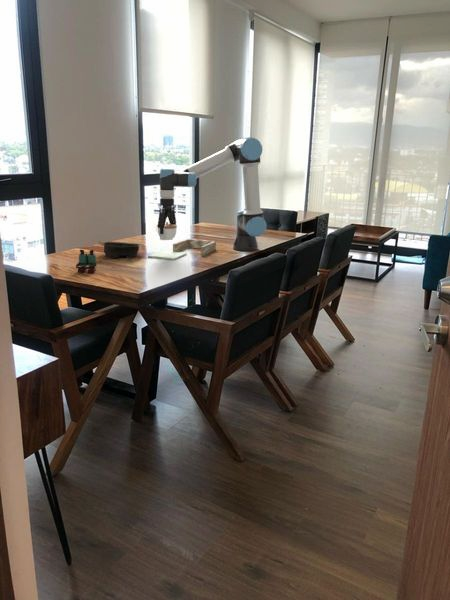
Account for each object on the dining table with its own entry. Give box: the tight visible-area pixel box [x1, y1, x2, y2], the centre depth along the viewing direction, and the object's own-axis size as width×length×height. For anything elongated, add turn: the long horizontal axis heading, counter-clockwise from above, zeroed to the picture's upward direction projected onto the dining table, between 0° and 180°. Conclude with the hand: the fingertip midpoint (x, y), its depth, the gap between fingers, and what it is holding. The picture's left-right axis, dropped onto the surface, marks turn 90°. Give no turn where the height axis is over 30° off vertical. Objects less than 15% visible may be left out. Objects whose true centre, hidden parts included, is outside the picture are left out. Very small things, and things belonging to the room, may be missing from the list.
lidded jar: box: [156, 221, 178, 241], centre depth 272 cm, size 11×11×9 cm
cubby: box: [172, 238, 217, 257], centre depth 291 cm, size 19×20×5 cm
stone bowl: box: [98, 241, 145, 259], centre depth 273 cm, size 25×25×9 cm
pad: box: [147, 250, 187, 261], centre depth 276 cm, size 16×16×1 cm
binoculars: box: [75, 249, 98, 274], centre depth 235 cm, size 9×11×10 cm
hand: (167, 238), depth 273 cm, fingers closed on lidded jar, 11 cm apart
